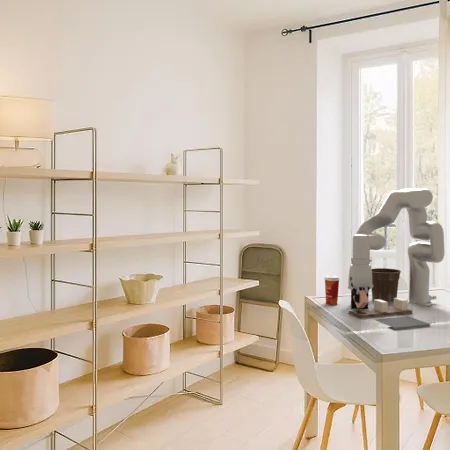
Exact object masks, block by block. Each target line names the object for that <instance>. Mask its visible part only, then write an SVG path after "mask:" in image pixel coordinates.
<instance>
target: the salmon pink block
mask: <svg viewBox="0 0 450 450" xmlns="http://www.w3.org/2000/svg"><path fill="white" fill-rule="evenodd" d="M359 294H360V303H357V302H355V304H356V306H357V309H356V310H359V309H358V308H364V307H365V306H366V305H367V304H368V305H369V303H370V300H369V296H368V297H367V295H366V293H365V290H359ZM353 299H354V296H353ZM354 301H355V300H354Z"/></svg>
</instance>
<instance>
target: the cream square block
mask: <svg viewBox="0 0 450 450" xmlns="http://www.w3.org/2000/svg"><path fill="white" fill-rule="evenodd" d="M408 304H409V303H408V299H405V298H402V297H397V298H394V301H393V306H394V308H396V309H399V310H402V311H403V310H407V309H408Z"/></svg>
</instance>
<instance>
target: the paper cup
mask: <svg viewBox="0 0 450 450" xmlns="http://www.w3.org/2000/svg"><path fill="white" fill-rule="evenodd" d="M339 284H340V277H339V276H338V275H325V276H324V289H325V291H324V292H325V304H326V305H327V306H337V305H338V299H339Z"/></svg>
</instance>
